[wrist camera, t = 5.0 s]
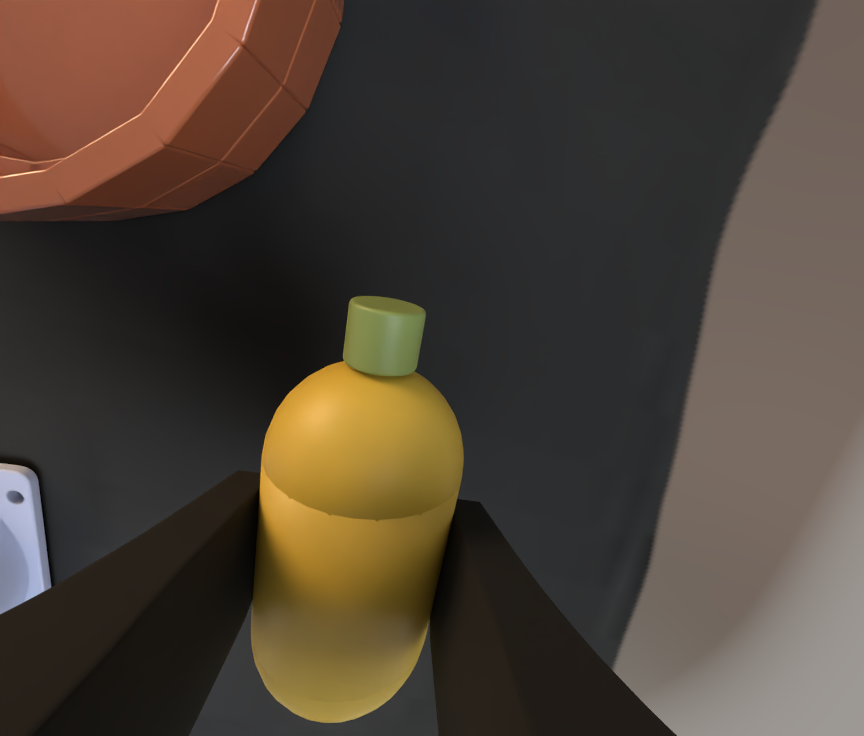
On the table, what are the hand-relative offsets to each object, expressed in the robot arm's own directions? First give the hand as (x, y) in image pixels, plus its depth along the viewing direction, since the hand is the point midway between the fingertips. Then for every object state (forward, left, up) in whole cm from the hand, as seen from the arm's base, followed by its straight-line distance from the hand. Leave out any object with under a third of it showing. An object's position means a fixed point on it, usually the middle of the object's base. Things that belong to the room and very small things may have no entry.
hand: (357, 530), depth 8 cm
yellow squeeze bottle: (0, 0, -1) cm, 1 cm away
